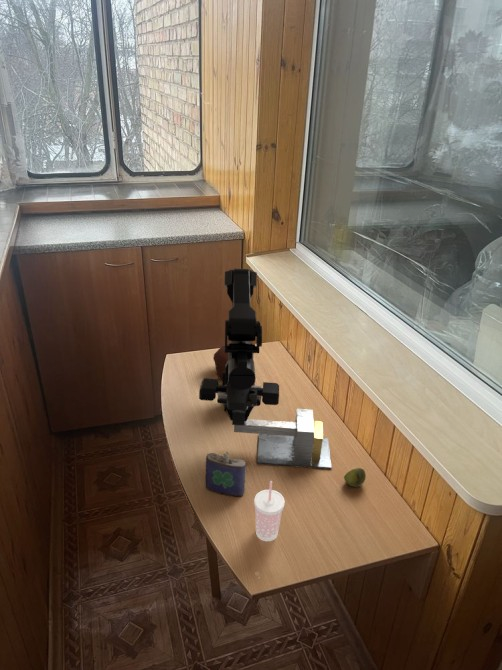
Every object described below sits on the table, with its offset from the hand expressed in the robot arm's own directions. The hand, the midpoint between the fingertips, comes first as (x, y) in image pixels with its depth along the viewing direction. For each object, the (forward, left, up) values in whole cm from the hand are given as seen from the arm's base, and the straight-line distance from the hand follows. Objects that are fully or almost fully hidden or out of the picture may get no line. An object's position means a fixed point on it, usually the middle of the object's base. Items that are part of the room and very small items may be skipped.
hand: (238, 420), depth 126 cm
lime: (+28, -10, -9) cm, 31 cm away
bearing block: (+14, 0, -9) cm, 17 cm away
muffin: (-5, +34, -9) cm, 35 cm away
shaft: (+8, 0, -3) cm, 8 cm away
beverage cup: (+8, -26, -9) cm, 29 cm away
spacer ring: (+20, 0, -5) cm, 20 cm away
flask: (-2, -15, -9) cm, 17 cm away
